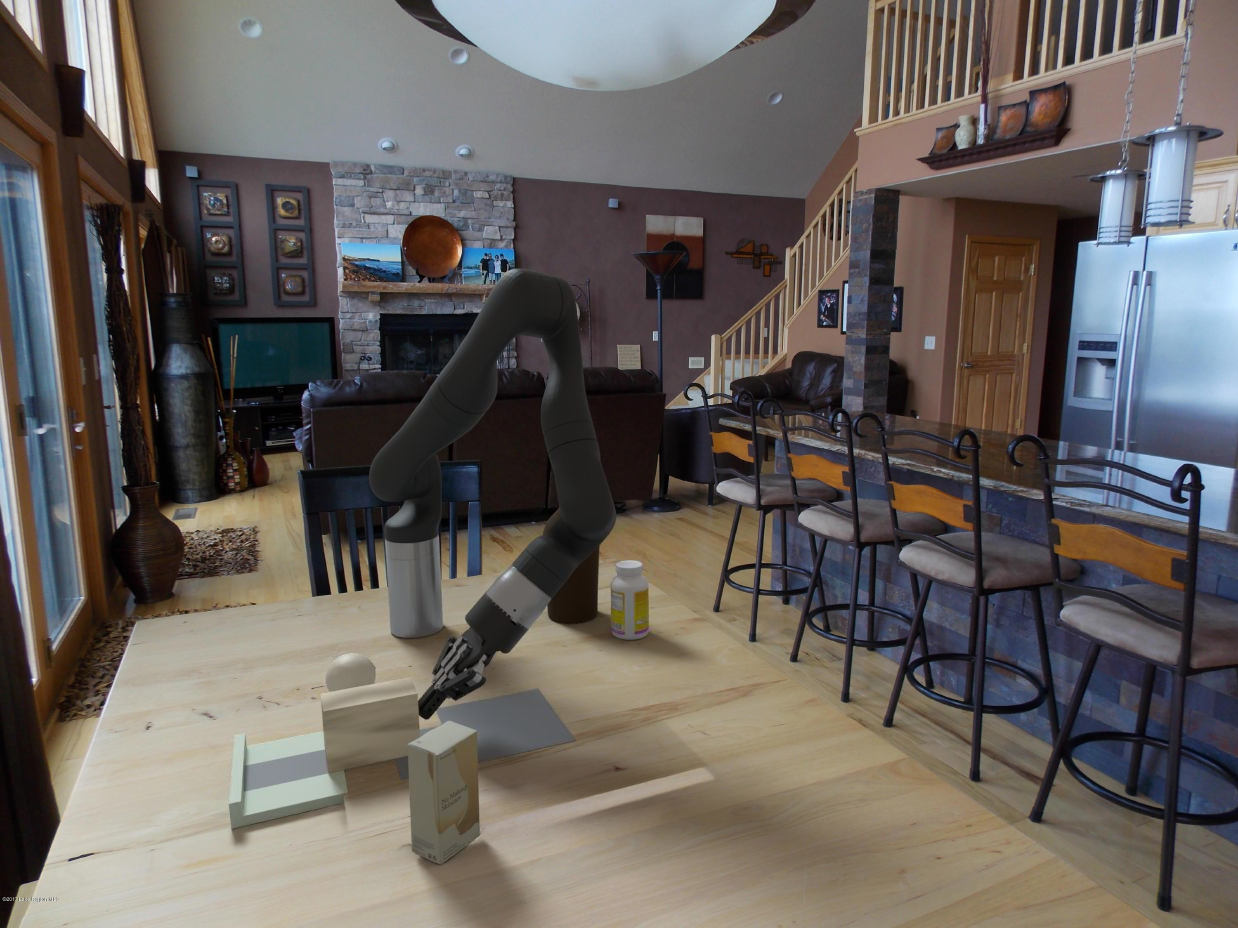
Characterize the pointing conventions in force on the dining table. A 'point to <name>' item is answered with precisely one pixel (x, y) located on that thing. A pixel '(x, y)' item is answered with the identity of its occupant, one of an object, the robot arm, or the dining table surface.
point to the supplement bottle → (629, 601)
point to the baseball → (350, 672)
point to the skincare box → (443, 791)
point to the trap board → (300, 779)
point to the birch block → (369, 723)
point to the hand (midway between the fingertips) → (420, 714)
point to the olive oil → (576, 589)
